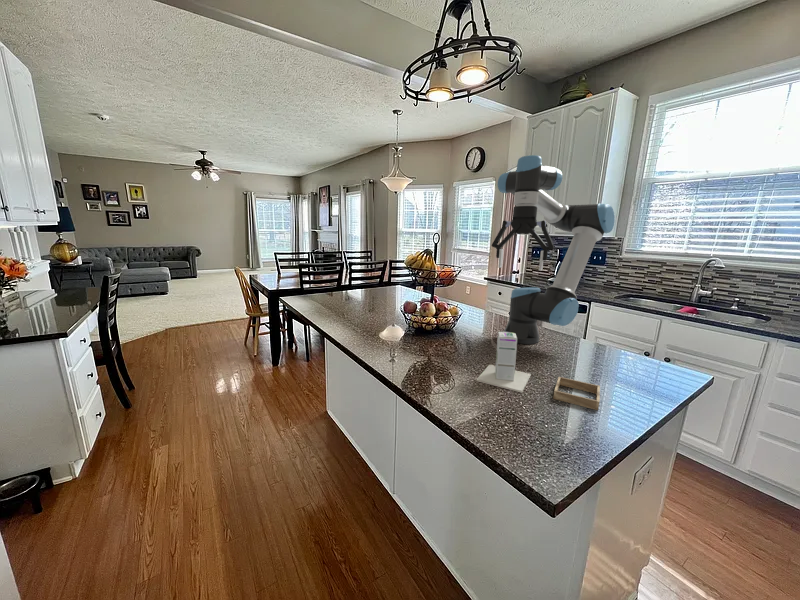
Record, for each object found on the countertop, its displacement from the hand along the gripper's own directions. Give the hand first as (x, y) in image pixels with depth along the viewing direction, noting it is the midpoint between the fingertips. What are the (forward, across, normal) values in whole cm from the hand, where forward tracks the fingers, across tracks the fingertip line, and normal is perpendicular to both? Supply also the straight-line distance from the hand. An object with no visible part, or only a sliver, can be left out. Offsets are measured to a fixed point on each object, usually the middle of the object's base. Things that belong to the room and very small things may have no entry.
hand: (519, 268), depth 114 cm
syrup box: (+34, +1, -17) cm, 38 cm away
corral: (+34, +22, -17) cm, 44 cm away
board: (+34, +1, -17) cm, 38 cm away
